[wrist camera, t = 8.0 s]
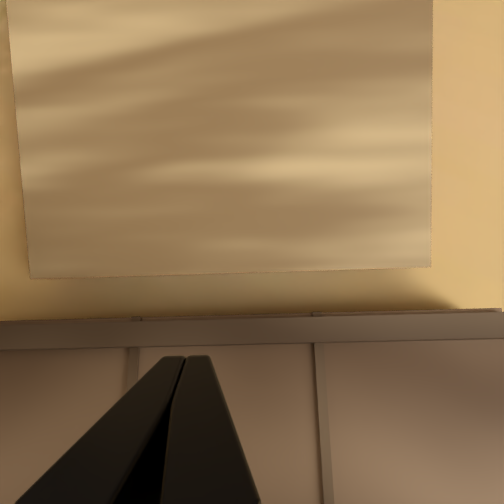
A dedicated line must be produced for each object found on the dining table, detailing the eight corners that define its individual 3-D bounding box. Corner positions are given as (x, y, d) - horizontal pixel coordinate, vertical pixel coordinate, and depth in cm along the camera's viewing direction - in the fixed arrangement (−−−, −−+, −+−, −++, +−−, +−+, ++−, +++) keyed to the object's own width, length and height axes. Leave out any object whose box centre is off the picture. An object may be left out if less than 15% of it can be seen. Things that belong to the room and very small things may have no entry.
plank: (431, 267, 15) (434, -252, 14) (30, 279, 16) (-13, -219, 14) (412, 260, 17) (413, -194, 16) (56, 271, 18) (21, -167, 16)
